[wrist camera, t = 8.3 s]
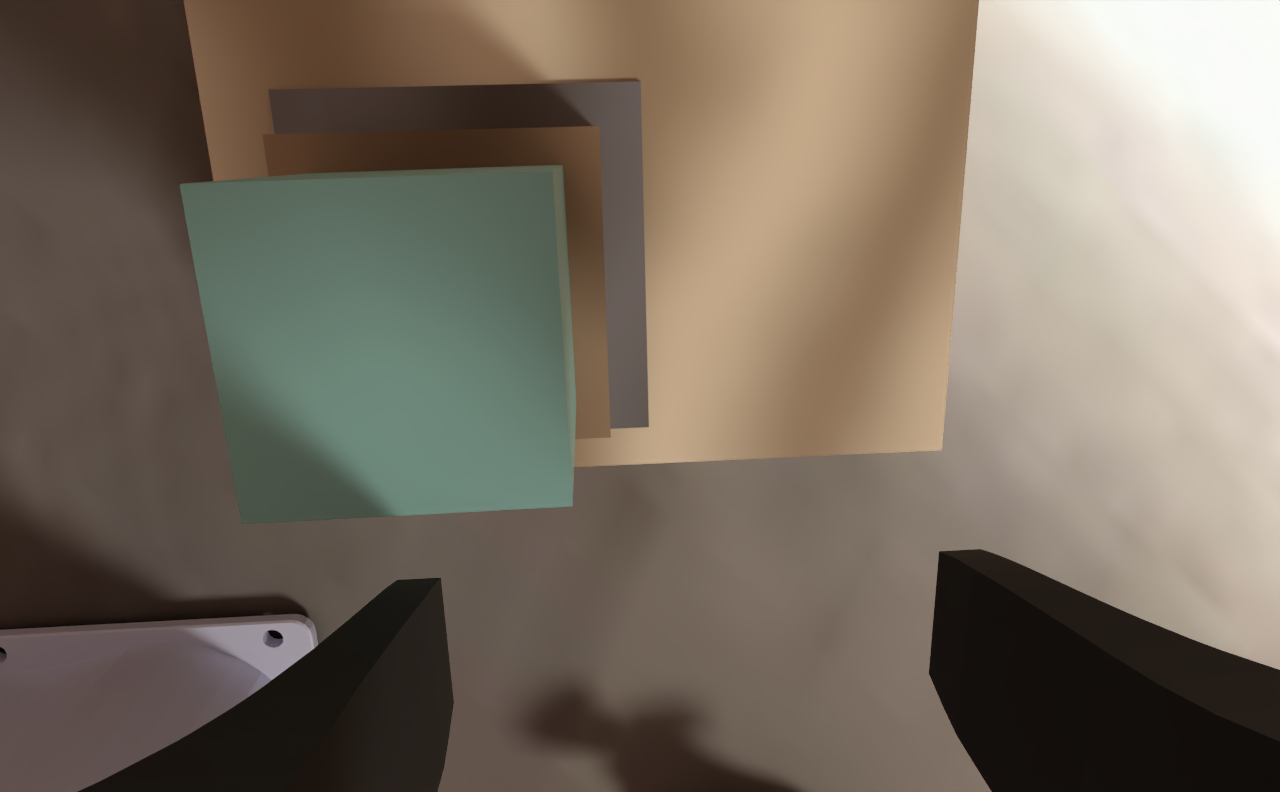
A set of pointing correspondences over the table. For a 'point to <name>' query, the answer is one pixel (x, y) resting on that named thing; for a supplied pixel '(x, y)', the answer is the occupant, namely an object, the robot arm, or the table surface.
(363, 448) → the teal block
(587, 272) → the walnut base block
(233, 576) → the table surface
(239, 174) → the board
